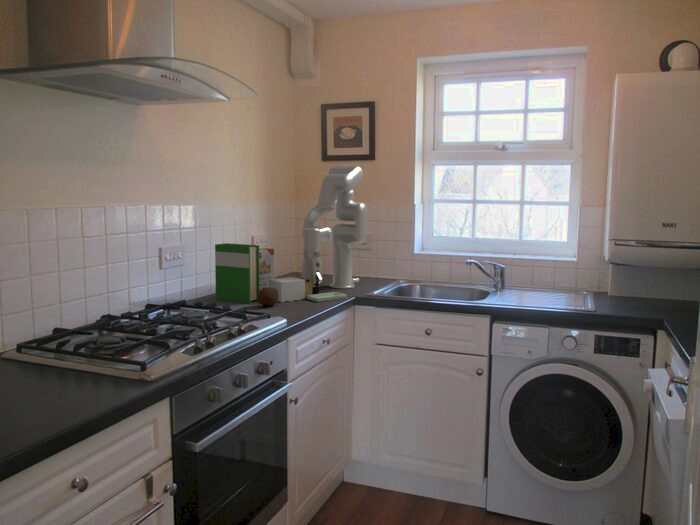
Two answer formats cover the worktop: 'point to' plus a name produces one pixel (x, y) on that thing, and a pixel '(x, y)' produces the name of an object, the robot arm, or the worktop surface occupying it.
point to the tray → (327, 297)
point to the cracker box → (265, 267)
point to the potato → (268, 296)
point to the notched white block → (288, 288)
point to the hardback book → (237, 272)
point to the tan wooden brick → (308, 288)
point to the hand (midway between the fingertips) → (311, 293)
